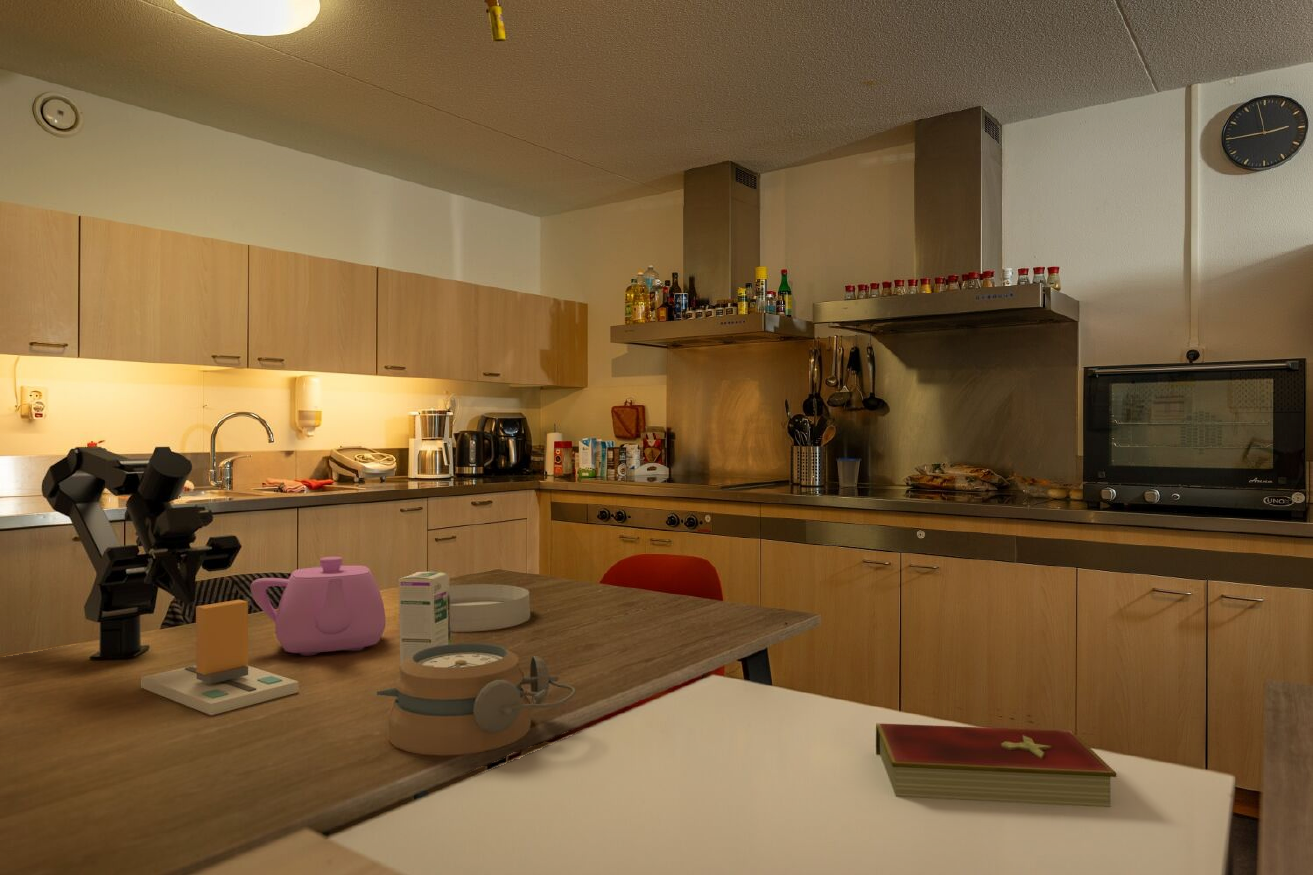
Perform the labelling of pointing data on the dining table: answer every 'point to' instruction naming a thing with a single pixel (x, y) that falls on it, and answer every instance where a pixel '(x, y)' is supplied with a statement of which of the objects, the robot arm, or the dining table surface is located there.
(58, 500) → the robot arm
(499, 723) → the alarm clock
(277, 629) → the teapot
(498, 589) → the dish
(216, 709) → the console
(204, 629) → the fader
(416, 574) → the syrup box
